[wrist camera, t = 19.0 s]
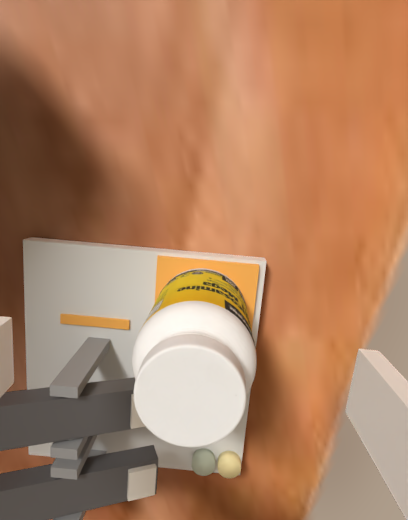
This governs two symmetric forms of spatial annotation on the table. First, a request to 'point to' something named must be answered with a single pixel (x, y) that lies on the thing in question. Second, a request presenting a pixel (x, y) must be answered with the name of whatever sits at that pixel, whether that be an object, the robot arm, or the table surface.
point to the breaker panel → (115, 337)
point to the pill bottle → (194, 360)
